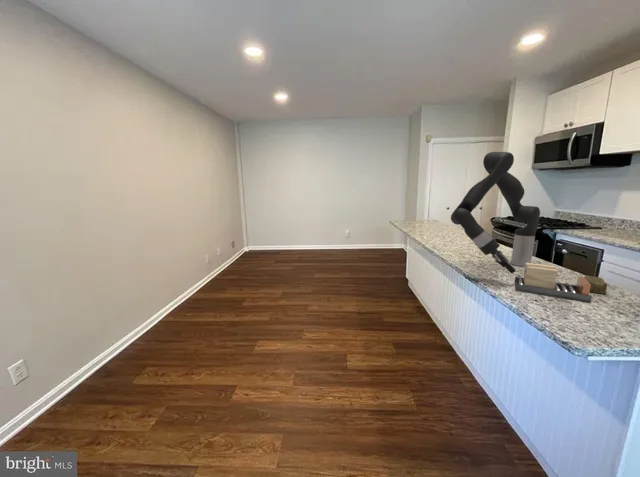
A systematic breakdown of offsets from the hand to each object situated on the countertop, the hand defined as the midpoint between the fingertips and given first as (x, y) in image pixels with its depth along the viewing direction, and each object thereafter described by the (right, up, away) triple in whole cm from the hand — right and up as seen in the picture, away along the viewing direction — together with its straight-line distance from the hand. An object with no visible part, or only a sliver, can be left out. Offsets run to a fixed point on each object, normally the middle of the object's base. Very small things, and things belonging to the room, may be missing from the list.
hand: (513, 271), depth 124 cm
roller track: (+11, -8, -6) cm, 15 cm away
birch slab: (+8, -5, -4) cm, 10 cm away
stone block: (+32, -8, -4) cm, 33 cm away
